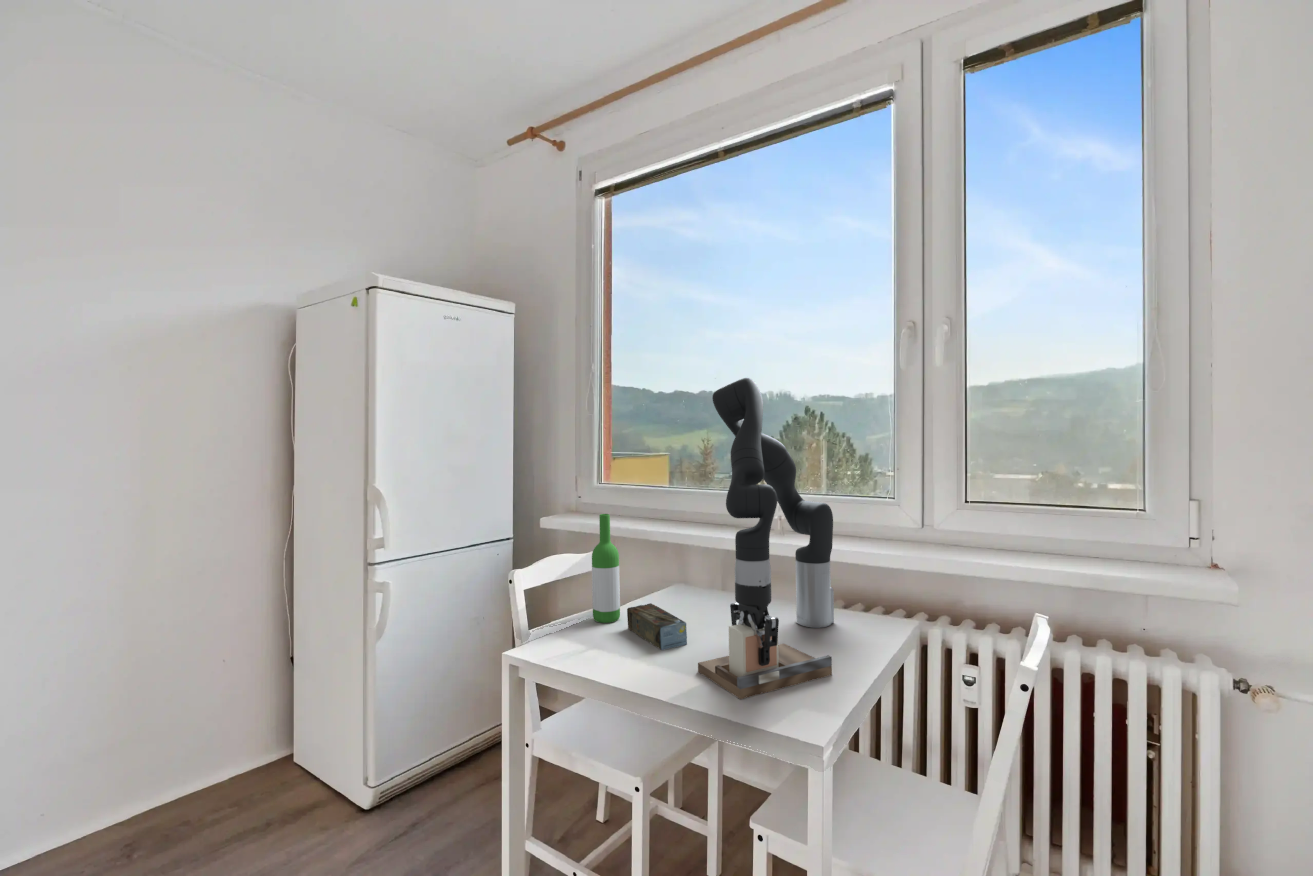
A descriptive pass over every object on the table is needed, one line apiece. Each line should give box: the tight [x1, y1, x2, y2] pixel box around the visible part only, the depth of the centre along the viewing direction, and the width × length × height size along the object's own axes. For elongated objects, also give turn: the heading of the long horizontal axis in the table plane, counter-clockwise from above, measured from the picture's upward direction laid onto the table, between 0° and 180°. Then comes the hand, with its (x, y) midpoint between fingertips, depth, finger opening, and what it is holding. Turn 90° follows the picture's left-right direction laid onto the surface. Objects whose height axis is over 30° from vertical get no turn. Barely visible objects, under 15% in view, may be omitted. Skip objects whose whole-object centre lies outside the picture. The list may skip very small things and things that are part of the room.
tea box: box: [728, 623, 779, 677], centre depth 127 cm, size 5×9×10 cm, turn 118°
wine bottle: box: [591, 513, 621, 624], centre depth 172 cm, size 8×8×30 cm
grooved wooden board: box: [697, 643, 833, 700], centre depth 132 cm, size 24×16×4 cm
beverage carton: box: [626, 602, 688, 651], centre depth 157 cm, size 8×19×7 cm, turn 28°
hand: (754, 659), depth 127 cm, fingers open, 6 cm apart
